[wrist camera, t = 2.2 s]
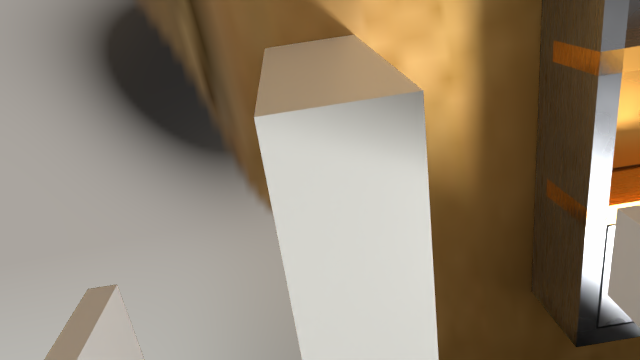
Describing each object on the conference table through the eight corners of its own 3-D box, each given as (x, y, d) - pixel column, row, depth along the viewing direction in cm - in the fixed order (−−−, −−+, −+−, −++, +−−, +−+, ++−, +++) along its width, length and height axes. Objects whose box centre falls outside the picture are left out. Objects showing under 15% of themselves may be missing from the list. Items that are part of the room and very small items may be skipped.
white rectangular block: (306, 282, 24) (325, 480, 14) (265, 47, 19) (254, 117, 10) (379, 270, 24) (444, 460, 14) (353, 34, 19) (423, 90, 10)
